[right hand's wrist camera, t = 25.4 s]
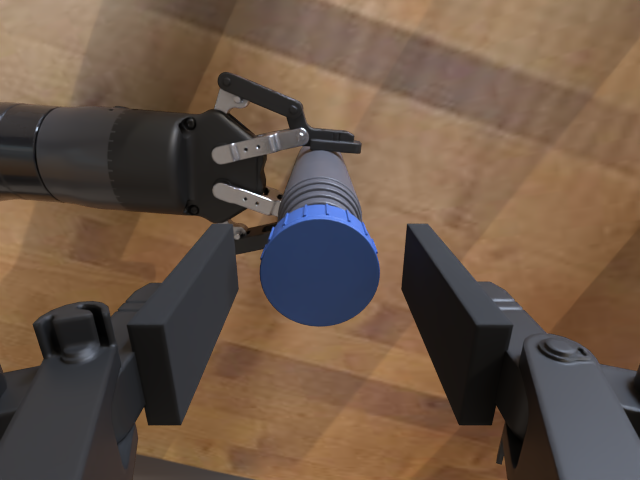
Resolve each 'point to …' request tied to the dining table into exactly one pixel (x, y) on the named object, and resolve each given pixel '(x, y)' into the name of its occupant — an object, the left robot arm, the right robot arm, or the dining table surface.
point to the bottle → (319, 183)
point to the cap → (319, 266)
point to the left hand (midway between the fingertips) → (355, 179)
